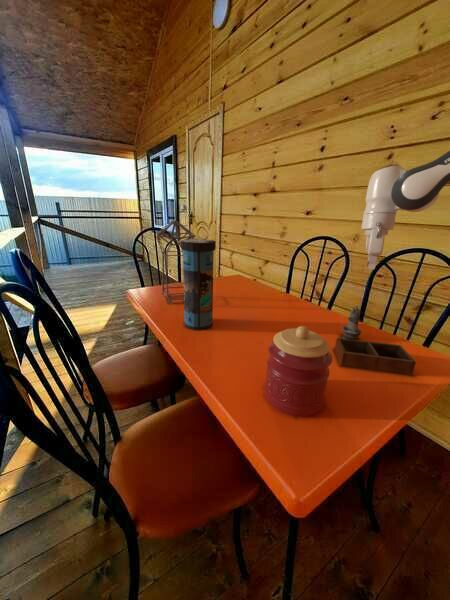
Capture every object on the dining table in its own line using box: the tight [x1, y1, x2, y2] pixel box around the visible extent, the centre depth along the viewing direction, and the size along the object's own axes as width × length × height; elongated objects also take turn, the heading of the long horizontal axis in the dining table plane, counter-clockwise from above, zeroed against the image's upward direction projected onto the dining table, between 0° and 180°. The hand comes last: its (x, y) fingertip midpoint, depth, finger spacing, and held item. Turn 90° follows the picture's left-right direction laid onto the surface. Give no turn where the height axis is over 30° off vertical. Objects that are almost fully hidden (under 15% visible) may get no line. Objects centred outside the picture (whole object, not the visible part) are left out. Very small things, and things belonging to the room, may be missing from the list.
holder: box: [333, 337, 417, 377], centre depth 71 cm, size 17×9×5 cm, turn 78°
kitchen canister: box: [264, 325, 333, 418], centre depth 55 cm, size 13×13×18 cm
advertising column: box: [180, 238, 217, 331], centre depth 87 cm, size 11×11×30 cm
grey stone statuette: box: [341, 305, 362, 340], centre depth 83 cm, size 6×6×12 cm
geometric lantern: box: [155, 220, 197, 305], centre depth 110 cm, size 16×16×35 cm
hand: (370, 267), depth 83 cm, fingers open, 8 cm apart
